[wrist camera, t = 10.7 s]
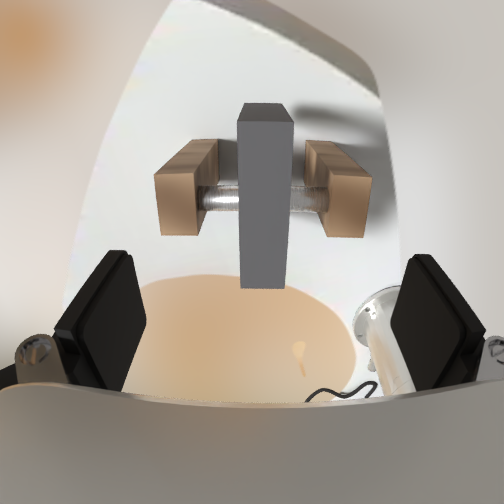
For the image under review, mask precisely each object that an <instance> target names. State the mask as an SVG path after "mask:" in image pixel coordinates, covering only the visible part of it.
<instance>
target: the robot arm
mask: <svg viewBox="0 0 504 504" xmlns="http://www.w3.org/2000/svg"><path fill="white" fill-rule="evenodd" d="M145 326H146V314H145V310H144V306H143V302H142V298H141V293H140V289H139V285H138V280H137V276H136V271H135V267H134V262H133V258H132V256H131V255H128V253H127V252H126V251H125V250H109V251H108V252H107V254H106V255H105V256H104V258H103V259H102V260H101V262H100V263H99V264H98V266H97V267H96V268H95V270H94V271H93V272H92V274H91V275H90V276H89V278H88V279H87V281H86V282H85V283H84V285H83V286H82V288H81V289H80V290H79V292H78V293H77V295H76V296H75V297H74V299H73V300H72V302H71V303H70V305H69V306H68V308H67V309H66V311H65V312H64V314H63V315H62V317H61V318H60V320H59V321H58V323H57V324H56V326H55V328H54V330H55V333H54V334H53V336H52V337H51V336H49V335H46V334H36V335H33V336H30V337H29V338H27V339H26V340H24V341H23V342H22V343H21V344H20V345H19V347H18V348H17V350H16V352H15V364H12V365H10V366H8V367H6V368H4V369H2V370H0V504H504V338H503V337H500V336H492V337H489V338H488V339H486V340H485V339H484V337H483V335H484V333H485V332H486V329H485V328H484V326H483V325H482V323H481V322H480V320H479V319H478V317H477V316H476V314H475V313H474V312H473V310H472V309H471V307H470V306H469V304H468V303H467V302H466V301H465V299H464V297H463V296H462V295H461V293H460V292H459V291H458V289H457V288H456V287H455V285H454V284H453V283H452V282H451V280H450V279H449V278H448V276H447V275H446V274H445V272H444V271H443V270H442V268H441V267H440V266H439V265H438V263H437V262H436V261H435V260H434V258H433V257H432V256H431V255H429V254H415V255H414V256H413V257H412V258H410V259H409V260H408V263H407V267H406V270H405V274H404V277H403V281H402V284H401V286H397V287H391V288H387V289H384V290H382V291H380V292H378V293H376V294H374V295H373V296H371V297H370V298H369V299H367V300H366V301H365V302H364V303H363V304H362V305H361V306H360V308H359V309H358V311H357V312H356V314H355V317H354V319H353V331H354V334H355V337H356V339H357V340H358V341H359V342H360V343H361V344H362V345H364V346H366V347H369V349H370V352H371V359H370V362H369V364H368V369H369V370H370V371H372V372H375V371H377V374H378V377H379V381H380V384H381V387H382V391H383V394H384V396H382V397H373V398H363V399H352V400H339V401H324V402H302V403H238V402H215V401H199V400H185V399H175V398H165V397H156V396H147V395H140V394H132V393H125V392H121V390H122V388H123V385H124V382H125V379H126V377H127V374H128V371H129V368H130V366H131V363H132V360H133V358H134V354H135V352H136V350H137V347H138V345H139V342H140V339H141V337H142V334H143V331H144V329H145Z"/></svg>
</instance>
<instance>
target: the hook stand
mask: <svg viewBox="0 0 504 504" xmlns="http://www.w3.org/2000/svg"><path fill="white" fill-rule="evenodd" d="M154 181H155V191H156V199H157V208H158V216H159V223H160V231H161V235H193V236H198V234H199V231H200V229H201V226H202V223H203V221H204V218H205V215H206V213H207V211H239V204H238V185H217V184H218V182H219V161H218V139H200V140H191V141H190V142H189V143H188V144H187V145H186V146H184V147H183V148H182V149H181V150H180V151H179V152H178V153H177V154H176V155H174V156H173V157H172V158H171V159H170V160H169V161H168V162H167V163H166V164H165V165H164V166H162V167H161V168H160V169H159V170H158V171H157V172H156V173H155V174H154ZM304 183H305V185H306V187H304V186H291V198H290V212H317V213H318V216H319V218H320V221H321V223H322V226H323V228H324V230H325V233H326V235H327V237H348V238H363V236H364V230H365V224H366V218H367V212H368V206H369V199H370V192H371V184H372V177H371V176H370V175H369V174H368V173H367V172H366V171H365V170H364V169H362V168H361V167H360V166H359V165H358V164H357V163H356V162H355V161H353V160H352V159H351V158H350V157H349V156H348V155H347V154H345V153H344V152H343V151H342V150H341V149H340V148H338V147H337V146H336V145H335V144H334V143H332V142H330V141H314V140H306V148H305V168H304Z"/></svg>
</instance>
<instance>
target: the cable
mask: <svg viewBox="0 0 504 504" xmlns="http://www.w3.org/2000/svg"><path fill="white" fill-rule="evenodd" d="M366 385H373V388H372V389H371V391H370V392H369V393H368V394H367V395H366V396H365V398H368V397H369V396H370V395H371V394H372V393H373V392H374V391H375V389H376V387H377V384H376V382H374V381H368V382H365V383H363V384H362V385H360V386H359V387H358V388H357V389H356V390H354V391H353V392H351V393H350V394H347V395H341V394H339V393H337V392H335V391H333V390H331V389H328V388H320V389H318V390H316V391H315V392H314V393H312V394H311V395H310V396H309V397H308V398H307V399H306V401H305V402H309V401H310V400H311V399H312V398H313V397H314V396H315V395H316V394H318V393H320V392H322V391H325V392H329V393H331V394H333V395H335V396H337V397H340V398H344V399H345V398H349V397H351V396H353V395H354V394H356V393H357V392H358V391H360V390H361V389H362V388H363V387H365V386H366Z"/></svg>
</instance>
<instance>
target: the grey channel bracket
mask: <svg viewBox="0 0 504 504" xmlns="http://www.w3.org/2000/svg"><path fill="white" fill-rule="evenodd" d="M293 134H294V122H293V120H292V118H291V117H290V115H289V114H288V112H287V111H286V109H285V108H284V106H283V105H282V104H280V103H244V106H243V108H242V110H241V113H240V115H239V118H238V120H237V153H238V204H239V246H240V283H241V288H255V289H258V288H260V289H261V288H262V289H264V288H265V289H284V287H285V275H286V261H287V247H288V232H289V216H290V198H291V179H292V158H293Z"/></svg>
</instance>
